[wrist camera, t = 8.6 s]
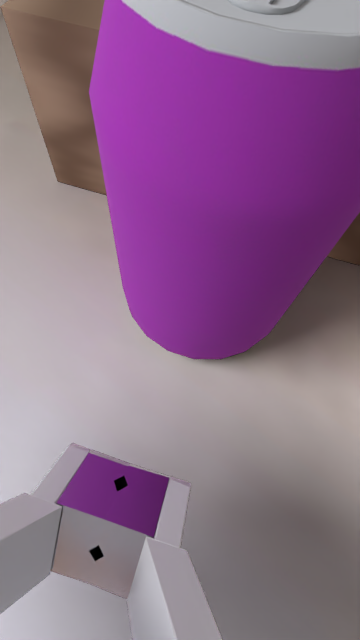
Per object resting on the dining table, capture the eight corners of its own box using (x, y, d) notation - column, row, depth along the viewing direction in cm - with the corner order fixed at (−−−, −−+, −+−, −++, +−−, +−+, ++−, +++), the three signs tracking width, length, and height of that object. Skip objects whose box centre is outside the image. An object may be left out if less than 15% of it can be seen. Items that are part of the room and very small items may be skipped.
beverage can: (244, 396, 14) (499, 140, 4) (95, 322, 16) (-42, -35, 5) (294, 270, 18) (506, -58, 7) (168, 217, 19) (184, -135, 8)
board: (57, 181, 19) (0, 6, 12) (79, 150, 21) (39, -24, 14) (393, 274, 18) (550, 136, 11) (393, 235, 19) (533, 88, 12)
